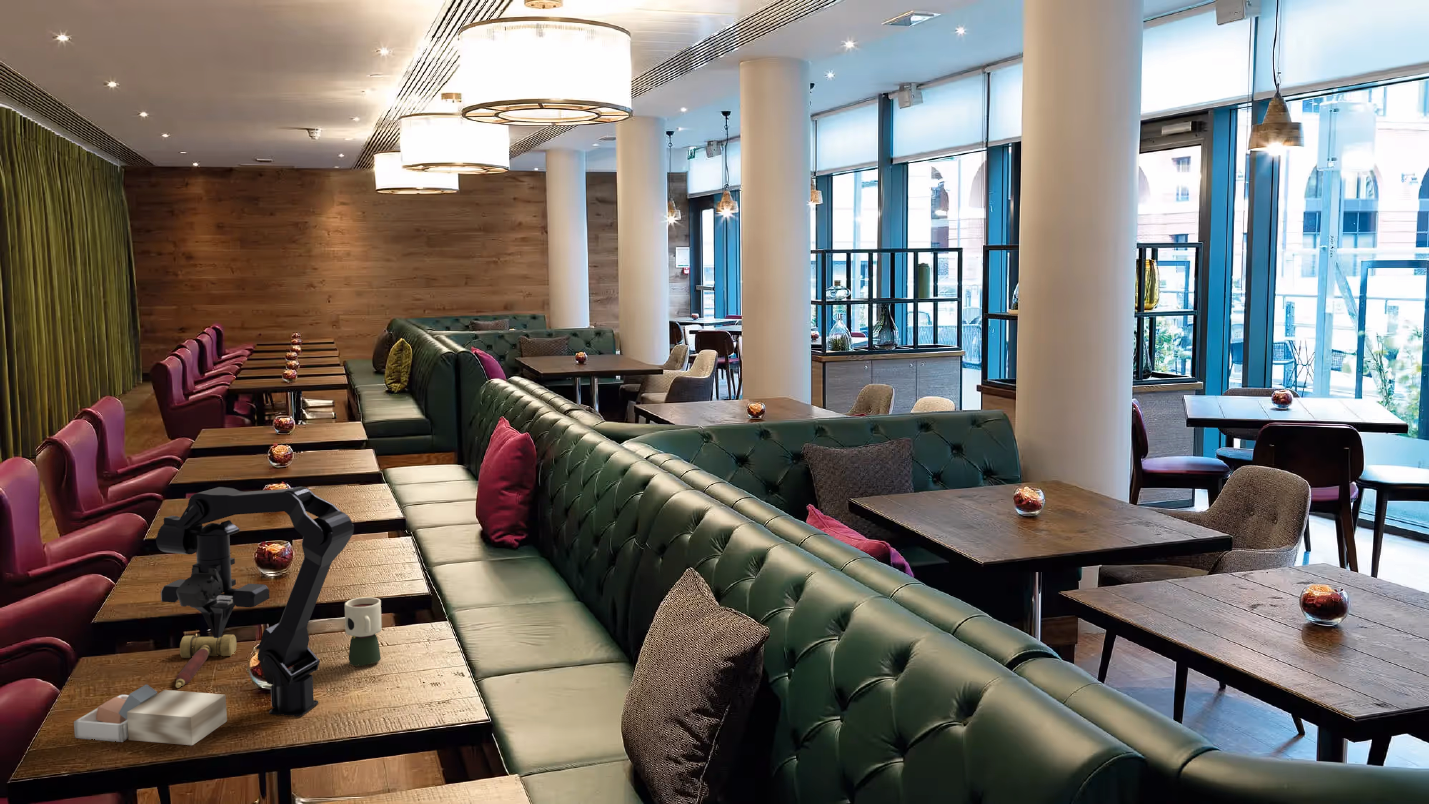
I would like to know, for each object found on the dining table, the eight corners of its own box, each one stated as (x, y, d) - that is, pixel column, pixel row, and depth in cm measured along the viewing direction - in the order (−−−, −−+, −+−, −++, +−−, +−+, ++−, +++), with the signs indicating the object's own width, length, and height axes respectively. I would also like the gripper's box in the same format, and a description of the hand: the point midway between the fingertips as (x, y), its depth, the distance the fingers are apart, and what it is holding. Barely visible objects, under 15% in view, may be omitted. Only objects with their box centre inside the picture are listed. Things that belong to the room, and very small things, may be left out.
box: (166, 713, 201) (166, 698, 201) (122, 742, 190) (121, 725, 189) (122, 710, 203) (121, 694, 202) (75, 738, 191) (73, 721, 191)
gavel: (204, 674, 213) (149, 676, 211) (205, 696, 214) (150, 698, 212) (236, 631, 233) (186, 632, 232) (237, 651, 234) (187, 652, 233)
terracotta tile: (115, 696, 199) (113, 709, 199) (98, 706, 195) (95, 719, 195) (138, 704, 198) (135, 716, 199) (120, 714, 194) (118, 727, 194)
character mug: (342, 657, 230) (340, 596, 229) (377, 652, 234) (375, 592, 232) (351, 675, 221) (348, 612, 219) (387, 669, 224) (385, 607, 222)
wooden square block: (226, 721, 198) (225, 694, 198) (192, 745, 189) (190, 717, 188) (165, 716, 200) (164, 689, 200) (128, 739, 190) (127, 712, 190)
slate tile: (157, 692, 197) (146, 684, 197) (141, 702, 193) (129, 694, 193) (146, 711, 198) (135, 703, 198) (129, 721, 194) (118, 713, 194)
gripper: (138, 565, 198) (143, 649, 200) (234, 571, 195) (238, 656, 197) (178, 549, 209) (182, 628, 211) (269, 554, 206) (272, 635, 208)
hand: (217, 637), depth 207 cm, fingers closed
